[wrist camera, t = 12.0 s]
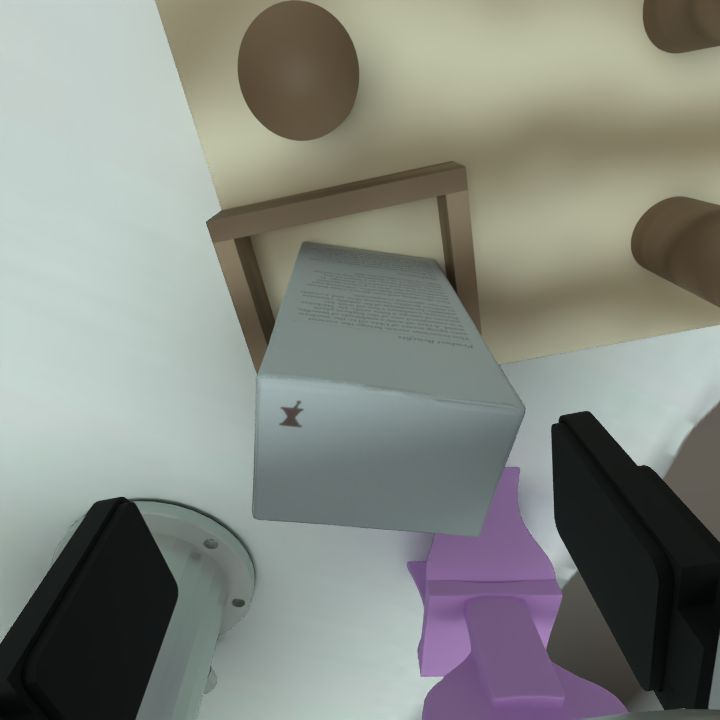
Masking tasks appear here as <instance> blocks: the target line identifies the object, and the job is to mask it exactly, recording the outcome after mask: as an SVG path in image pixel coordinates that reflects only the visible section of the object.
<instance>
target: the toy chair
mask: <svg viewBox="0 0 720 720" xmlns="http://www.w3.org/2000/svg"><path fill="white" fill-rule="evenodd" d="M519 473H520V468H519V467H505V468H504V470H503V473H502V476H501V478H500V481H499V484H498V486H497V489H496V492H495V494H494V497H493V500H492V502H491V505H490V508H489V510H488V513H487V515H486V518H485V521H484V524H483V527H482V530H481V533H480V536H479V537H469V536H460V535H447V534H434V540H433V543H432V546H431V549H430V552H429V555H428V559H427V562H408V563H407V567H408V569H409V571H410V573H411V575H412V577H413V579H414V581H415V583H416V586H417V588H418V590H419V593H420V595H421V598H422V601H423V605H424V619H423V628H422V636H421V640H420V643H419V646H418V659H419V666H420V675H421V677H437V676H444V678H443V679H442V680H441V681H440V682H439V683H437V684H436V685H435V686H434V687H433V688H432V689H431V690H430V691H429V693H428V694H427V696H426V698H425V701H424V707H423V713H422V720H577V719H585V718H593V717H601V716H609V715H617V714H625V713H628V711H627V709H626V708H625V706H624V705H623V704H622V703H621V702H620V701H619V700H618V698H617V697H615V696H614V695H613V694H611V693H610V692H608V691H607V690H606V689H604V688H602V687H600V686H598V685H596V684H594V683H592V682H589V681H587V680H584V679H582V678H579V677H577V676H575V675H574V674H572V673H570V672H568V671H566V670H565V669H563V668H561V667H559V666H558V665H556V664H554V663H553V662H551V661H550V659H549V656H548V654H547V652H546V647H547V643H548V639H549V636H550V633H551V629H552V626H553V623H554V621H555V618H556V616H557V613H558V610H559V606H560V603H561V599H562V596H563V595H562V592H561V590H560V588H559V585H558V583H557V581H556V579H555V571H554V568H553V565H552V563H551V561H550V560H549V558H548V557H547V555H546V554H545V552H544V551H543V550H542V549H541V547H540V546H539V545H538V543H537V542H536V541H535V540H534V538H533V537H532V535H531V534H530V532H529V531H528V529H527V528H526V526H525V524H524V522H523V520H522V518H521V516H520V513H519V508H518V503H517V489H518V480H519Z"/></svg>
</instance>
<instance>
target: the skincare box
mask: <svg viewBox="0 0 720 720" xmlns="http://www.w3.org/2000/svg"><path fill="white" fill-rule="evenodd" d="M524 414H525V406H524V404H523V403H522V401H521V400H520V398H519V396H518V395H517V393H516V392H515V390H514V389H513V387H512V386H511V384H510V382H509V381H508V379H507V377H506V376H505V374H504V373H503V371H502V369H501V367H500V366H499V364H498V363H497V361H496V359H495V358H494V356H493V355H492V353H491V351H490V350H489V348H488V346H487V345H486V343H485V341H484V340H483V338H482V336H481V335H480V333H479V331H478V330H477V328H476V326H475V324H474V323H473V321H472V319H471V318H470V316H469V314H468V313H467V311H466V309H465V308H464V306H463V304H462V303H461V301H460V299H459V298H458V296H457V294H456V293H455V291H454V289H453V287H452V286H451V284H450V283H449V281H448V279H447V278H446V276H445V274H444V272H443V271H442V269H441V267H440V266H439V264H438V263H437V261H436V260H434V259H426V258H419V257H412V256H405V255H398V254H391V253H383V252H377V251H369V250H361V249H354V248H347V247H339V246H332V245H325V244H318V243H310V242H303V243H302V244H301V247H300V250H299V253H298V256H297V259H296V262H295V265H294V268H293V272H292V274H291V277H290V279H289V282H288V285H287V288H286V291H285V295H284V298H283V301H282V304H281V307H280V310H279V313H278V316H277V319H276V322H275V325H274V329H273V332H272V335H271V338H270V342H269V345H268V348H267V350H266V353H265V356H264V358H263V361H262V364H261V366H260V369H259V372H258V374H257V377H256V411H255V446H254V477H253V503H252V513H253V517H254V518H255V519H258V520H269V521H286V522H300V523H313V524H328V525H339V526H350V527H362V528H374V529H386V530H399V531H412V532H424V533H435V534H447V535H460V536H469V537H479V536H480V533H481V530H482V527H483V524H484V521H485V518H486V515H487V513H488V510H489V508H490V505H491V502H492V500H493V497H494V494H495V492H496V489H497V486H498V484H499V481H500V478H501V476H502V473H503V470H504V468H505V465H506V462H507V460H508V457H509V454H510V451H511V449H512V446H513V443H514V441H515V438H516V435H517V433H518V430H519V427H520V425H521V422H522V419H523V417H524Z"/></svg>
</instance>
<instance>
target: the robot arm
mask: <svg viewBox="0 0 720 720" xmlns="http://www.w3.org/2000/svg"><path fill="white" fill-rule="evenodd" d="M551 435H552V463H553V491H554V517H555V523H556V527H557V530H558V533H559V535H560V537H561V539H562V540H563V542H564V544H565V546H566V548H567V550H568V552H569V553H570V555H571V557H572V559H573V561H574V563H575V565H576V567H577V568H578V570H579V572H580V574H581V576H582V578H583V580H584V581H585V583H586V585H587V587H588V589H589V590H590V593H591V595H592V596H593V598H594V600H595V602H596V604H597V606H598V608H599V609H600V611H601V613H602V615H603V617H604V619H605V621H606V622H607V624H608V626H609V628H610V630H611V632H612V634H613V636H614V637H615V639H616V641H617V643H618V645H619V647H620V649H621V650H622V652H623V654H624V656H625V658H626V660H627V662H628V663H629V665H630V667H631V669H632V671H633V673H634V675H635V677H636V678H637V680H638V682H639V684H640V685H641V687H642V688H643V689H644V690H645V691H652V690H654V692H655V694H656V696H657V698H658V699H659V701H660V703H661V705H662V707H663V708H664V710H661V711H648V712H634V713H625V714H617V715H609V716H601V717H593V718H585V719H577V720H720V542H719V541H718V540H717V539H716V538H715V537H714V536H713V535H712V534H711V532H710V531H709V530H708V529H707V528H706V527H705V526H704V525H703V524H702V523H701V521H700V520H699V519H698V518H697V517H696V516H695V515H694V514H693V513H692V512H691V511H690V509H689V508H688V507H687V506H686V505H685V504H684V503H683V502H682V501H681V500H680V498H678V497H677V495H676V494H675V493H674V492H673V491H672V490H671V489H670V488H669V486H668V485H667V484H666V483H665V482H664V481H663V480H662V479H661V478H660V477H659V475H658V474H657V473H656V472H655V471H654V470H652V469H651V468H650V467H648V466H645V465H642V466H637V465H636V463H635V462H634V461H633V460H632V459H631V458H630V457H629V456H628V454H627V453H626V452H625V451H624V450H623V449H622V448H621V446H620V445H619V444H618V443H617V442H616V441H615V440H614V438H613V437H612V436H611V435H610V434H609V433H608V432H607V430H606V429H605V428H604V427H603V426H602V425H601V424H600V422H599V421H598V420H597V419H596V418H595V417H594V416H593V415H592V414H591V413H590V412H589V411H583V412H578V413H573V414H567V415H562V416H560V418H559V423H556V424H553V425H552V427H551ZM254 583H255V575H254V568H253V564H252V562H251V560H250V557H249V555H248V553H247V551H246V550H245V549H244V547H243V546H242V545H241V543H240V542H239V540H237V539H236V538H235V537H234V536H233V535H232V534H231V533H230V532H229V531H228V530H227V529H225V528H224V527H222V526H221V525H219V524H218V523H216V522H215V521H213V520H212V519H210V518H208V517H206V516H204V515H201V514H199V513H197V512H195V511H193V510H189V509H186V508H183V507H179V506H176V505H172V504H165V503H159V502H143V501H132V502H129V501H128V499H126V498H125V497H118V498H113V499H107V500H102V501H98V502H96V503H94V504H93V506H92V507H91V508H90V510H89V511H88V513H87V514H86V515H85V516H83V517H82V518H81V519H79V520H78V521H77V522H76V523H75V524H74V525H72V526H71V528H70V529H69V530H68V532H67V533H66V535H65V536H64V537H63V539H62V540H61V541H60V543H59V545H58V547H57V549H56V551H55V553H54V557H53V562H52V567H51V568H50V570H49V571H48V573H47V574H46V576H45V578H44V579H43V581H42V582H41V584H40V585H39V587H38V588H37V590H36V591H35V593H34V594H33V596H32V597H31V599H30V600H29V602H28V603H27V605H26V606H25V608H24V609H23V611H22V612H21V614H20V615H19V617H18V618H17V620H16V621H15V623H14V624H13V626H12V627H11V629H10V630H9V632H8V633H7V635H6V636H5V638H4V639H3V641H2V642H1V644H0V720H197V716H198V713H199V709H200V705H201V701H202V697H203V694H206V693H208V692H210V691H211V690H212V689H213V688H214V687H215V685H216V683H217V676H216V674H215V672H214V671H213V669H212V667H211V662H212V658H213V654H214V650H215V646H216V642H217V638H218V636H219V635H221V634H223V633H225V632H226V631H228V630H229V629H231V628H232V627H234V626H235V625H236V624H237V623H238V622H239V621H240V620H241V619H242V618H243V617H244V615H245V613H246V612H247V610H248V608H249V606H250V603H251V599H252V595H253V591H254ZM681 708H685V709H681ZM674 709H675V710H674Z"/></svg>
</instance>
